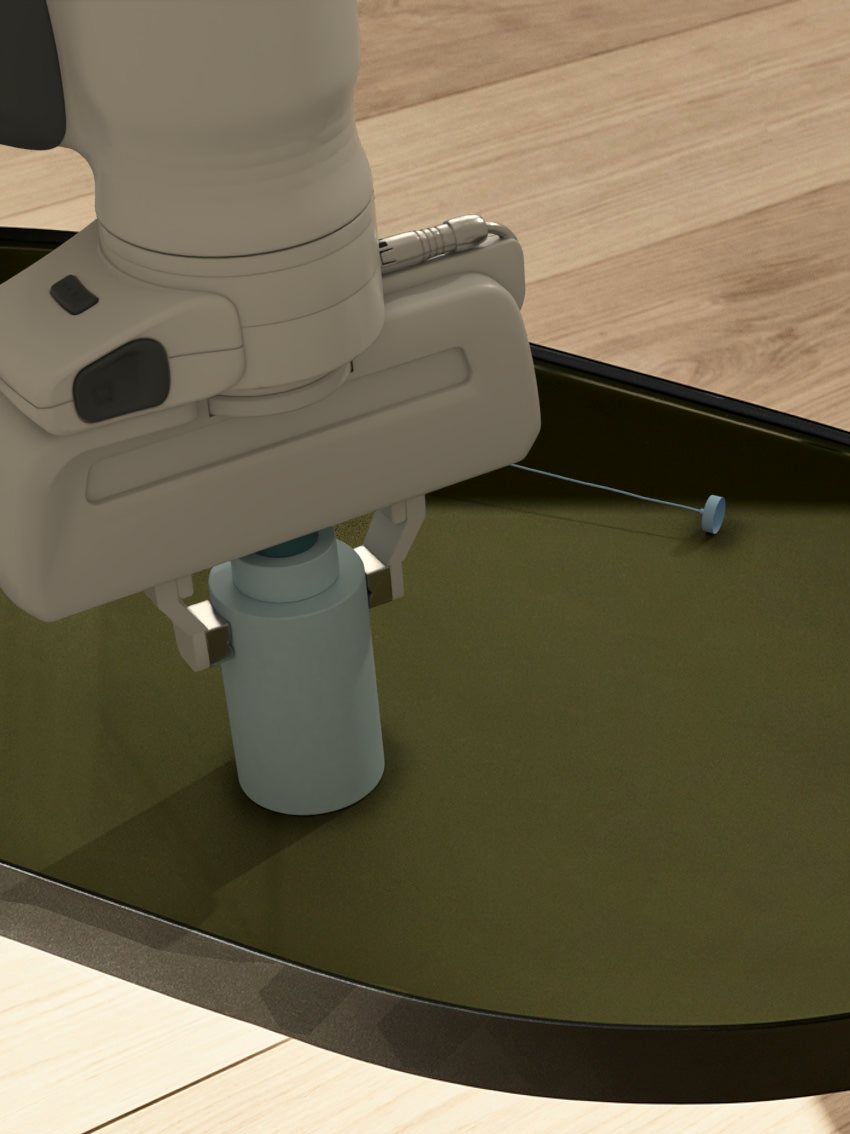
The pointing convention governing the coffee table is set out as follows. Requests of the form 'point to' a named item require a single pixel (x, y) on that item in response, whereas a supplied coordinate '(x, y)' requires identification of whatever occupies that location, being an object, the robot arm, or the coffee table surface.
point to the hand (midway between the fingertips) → (292, 627)
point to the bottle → (301, 674)
